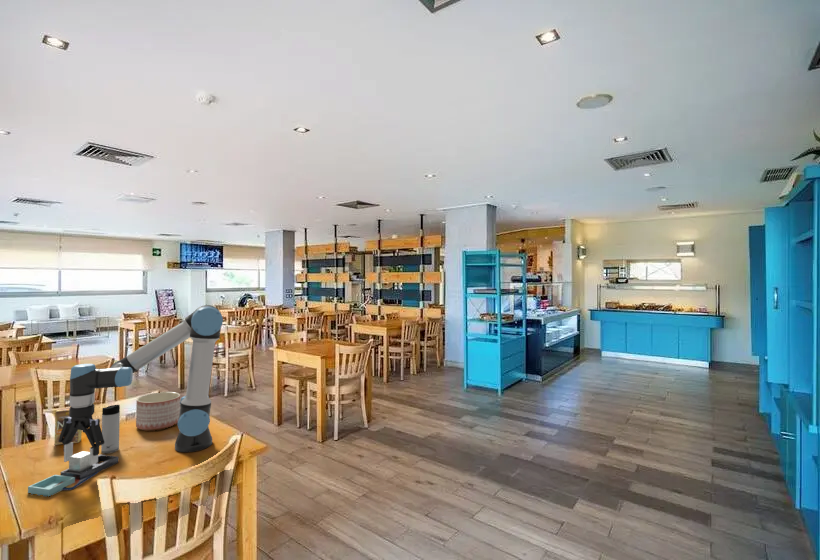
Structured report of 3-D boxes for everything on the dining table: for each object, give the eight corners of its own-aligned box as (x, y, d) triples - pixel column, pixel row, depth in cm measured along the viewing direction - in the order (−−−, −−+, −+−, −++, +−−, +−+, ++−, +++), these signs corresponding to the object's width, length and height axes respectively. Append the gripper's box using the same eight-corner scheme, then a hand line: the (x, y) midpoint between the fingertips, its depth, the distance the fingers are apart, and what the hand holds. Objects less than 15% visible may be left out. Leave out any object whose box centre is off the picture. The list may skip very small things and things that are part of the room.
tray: (74, 484, 149) (74, 477, 149) (48, 496, 141) (49, 489, 141) (54, 481, 151) (54, 474, 151) (27, 493, 142) (28, 486, 142)
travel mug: (110, 454, 174) (111, 408, 174) (97, 453, 176) (98, 406, 176) (123, 448, 180) (124, 403, 180) (110, 447, 182) (111, 402, 182)
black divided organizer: (118, 462, 167) (118, 456, 167) (80, 481, 151) (80, 474, 151) (100, 460, 169) (100, 454, 169) (60, 478, 153) (60, 472, 153)
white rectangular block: (92, 473, 158) (92, 452, 158) (79, 479, 153) (80, 457, 153) (81, 471, 159) (82, 451, 159) (68, 477, 154) (69, 456, 154)
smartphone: (101, 472, 160) (101, 469, 160) (71, 491, 145) (71, 488, 145) (82, 472, 160) (82, 469, 160) (50, 491, 145) (50, 488, 145)
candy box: (54, 445, 182) (54, 411, 182) (58, 442, 186) (58, 408, 186) (78, 442, 186) (79, 409, 186) (81, 439, 190) (82, 406, 190)
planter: (147, 435, 196) (147, 404, 196) (128, 427, 206) (129, 397, 207) (187, 424, 212) (187, 395, 212) (168, 416, 223) (168, 389, 223)
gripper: (116, 404, 158) (115, 460, 158) (66, 399, 162) (65, 454, 162) (98, 410, 150) (97, 469, 150) (46, 405, 155) (45, 463, 155)
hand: (80, 462), depth 156 cm, fingers open, 11 cm apart
